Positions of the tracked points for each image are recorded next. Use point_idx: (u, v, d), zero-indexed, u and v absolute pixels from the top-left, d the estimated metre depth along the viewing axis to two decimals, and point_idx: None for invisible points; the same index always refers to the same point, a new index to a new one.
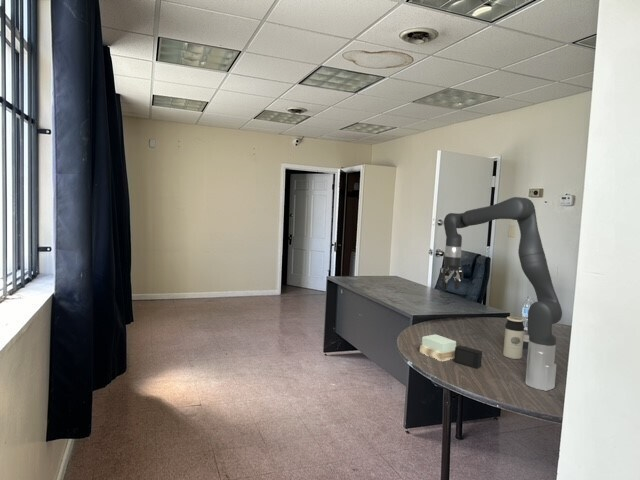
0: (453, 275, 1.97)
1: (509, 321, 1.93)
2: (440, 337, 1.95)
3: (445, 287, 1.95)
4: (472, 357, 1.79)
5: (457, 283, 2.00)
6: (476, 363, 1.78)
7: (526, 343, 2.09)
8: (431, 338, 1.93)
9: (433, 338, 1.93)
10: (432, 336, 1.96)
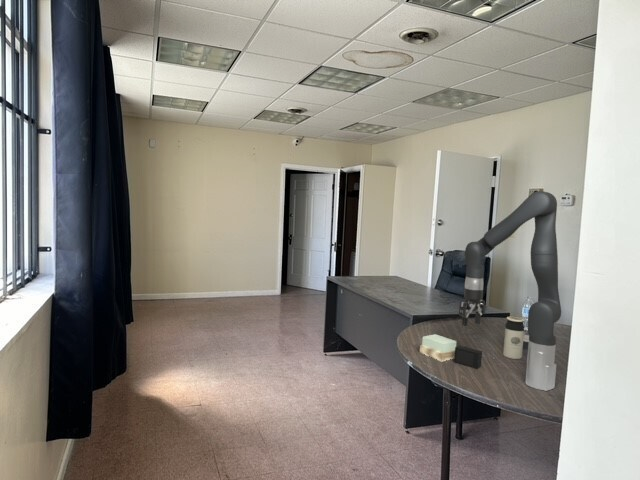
0: (474, 309, 1.80)
1: (509, 321, 1.93)
2: (440, 337, 1.95)
3: (465, 322, 1.78)
4: (472, 357, 1.79)
5: (478, 317, 1.83)
6: (476, 363, 1.78)
7: (525, 343, 2.09)
8: (432, 338, 1.93)
9: (433, 338, 1.93)
10: (432, 336, 1.96)
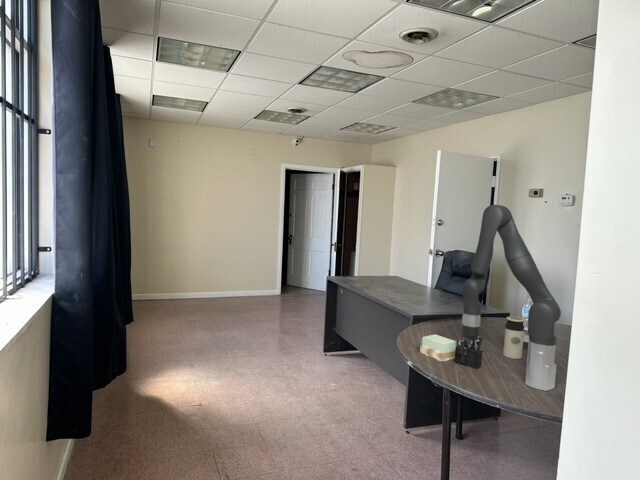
0: (471, 345, 1.81)
1: (509, 321, 1.93)
2: (440, 337, 1.95)
3: (464, 360, 1.80)
4: (472, 357, 1.79)
5: None
6: (476, 363, 1.78)
7: (523, 342, 2.09)
8: (432, 338, 1.93)
9: (433, 338, 1.93)
10: (432, 336, 1.96)
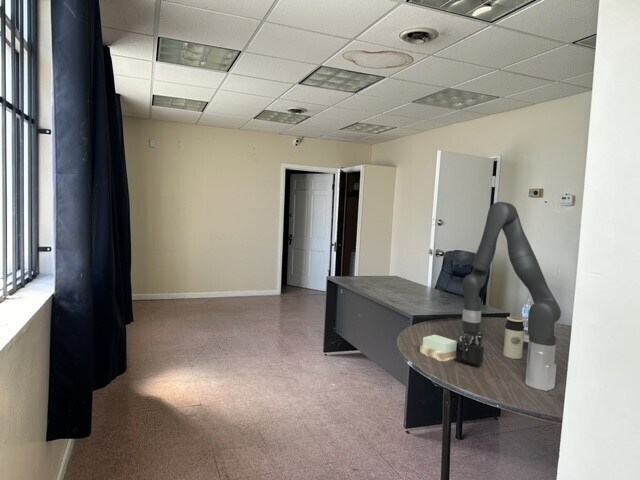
0: (472, 341, 1.81)
1: (509, 321, 1.93)
2: (440, 337, 1.95)
3: (466, 356, 1.80)
4: (474, 353, 1.78)
5: None
6: (478, 359, 1.77)
7: None
8: (433, 338, 1.93)
9: (434, 338, 1.93)
10: (432, 336, 1.96)
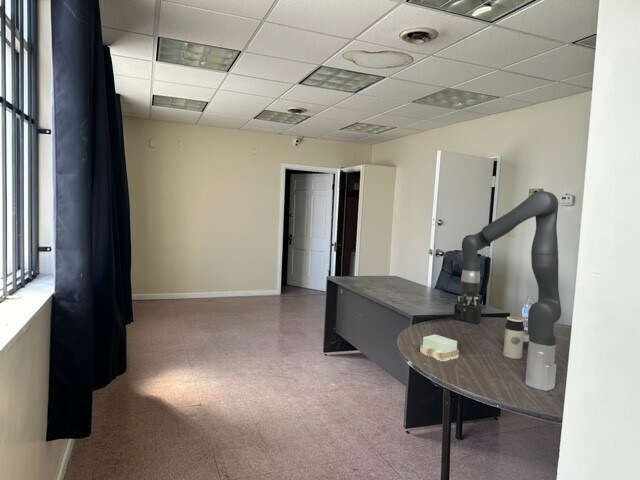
0: (470, 302, 1.81)
1: (509, 321, 1.93)
2: (440, 337, 1.95)
3: (464, 316, 1.80)
4: (472, 313, 1.79)
5: None
6: (476, 319, 1.78)
7: None
8: (433, 338, 1.92)
9: (434, 338, 1.93)
10: (432, 336, 1.96)
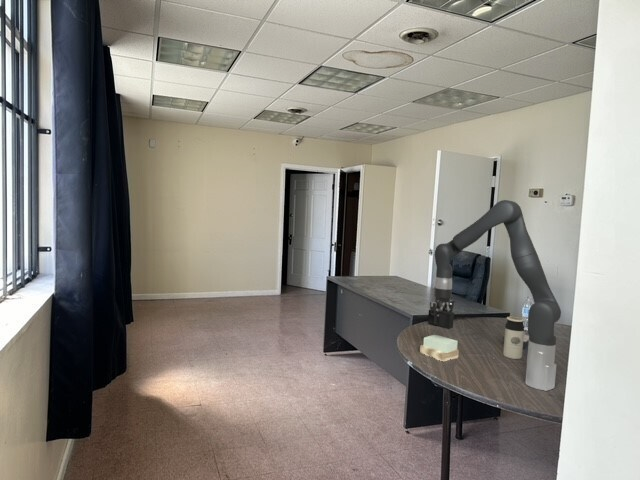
0: (443, 307, 1.91)
1: (509, 321, 1.93)
2: (440, 337, 1.95)
3: (437, 321, 1.89)
4: (444, 318, 1.88)
5: None
6: (448, 323, 1.87)
7: None
8: (433, 339, 1.92)
9: (435, 339, 1.93)
10: (432, 336, 1.96)
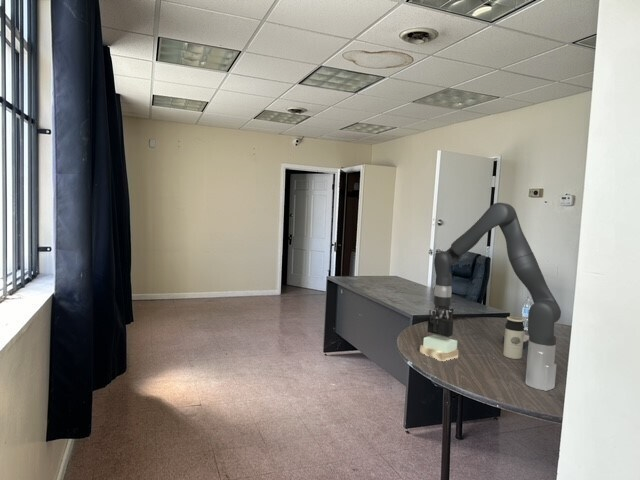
0: (443, 315, 1.91)
1: (509, 321, 1.93)
2: (440, 337, 1.95)
3: (436, 329, 1.89)
4: (444, 326, 1.88)
5: None
6: (447, 331, 1.87)
7: None
8: (433, 339, 1.92)
9: (435, 339, 1.92)
10: (432, 336, 1.96)
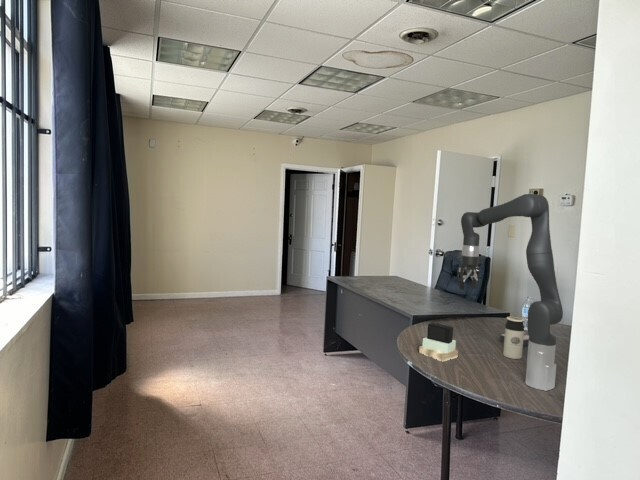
0: (470, 274, 1.96)
1: (509, 321, 1.93)
2: None
3: (463, 286, 1.94)
4: (444, 332, 1.88)
5: (474, 282, 1.99)
6: (447, 338, 1.87)
7: None
8: None
9: None
10: None
